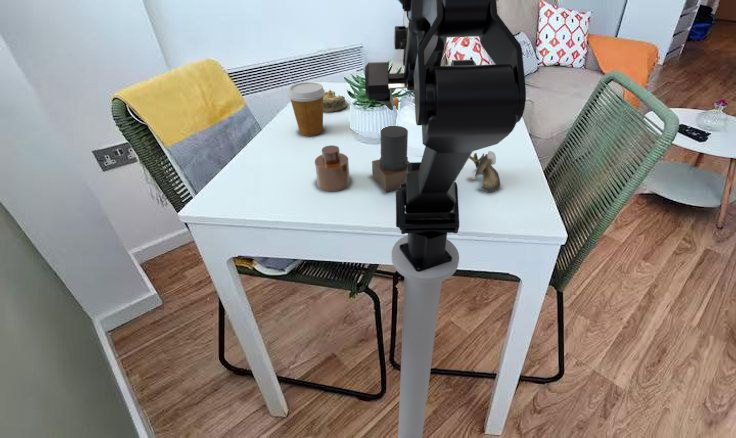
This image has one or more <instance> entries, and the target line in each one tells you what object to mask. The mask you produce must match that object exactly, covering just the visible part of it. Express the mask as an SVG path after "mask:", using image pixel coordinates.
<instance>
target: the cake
mask: <svg viewBox="0 0 736 438" xmlns="http://www.w3.org/2000/svg"><path fill="white" fill-rule="evenodd" d="M348 105H349V104H348V101H346V97H345V96H344V95H340V94H339V95H336V92H335V91H332V90H331V89H328V91H325V93H324V96H323V113H331V112H337V111H340V110H344V109H345V108H347V106H348Z"/></svg>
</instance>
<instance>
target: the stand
mask: <svg viewBox="0 0 736 438" xmlns="http://www.w3.org/2000/svg"><path fill="white" fill-rule="evenodd" d="M409 163H411V162H410V161H409V160H408V164H409ZM408 164H407V165H408ZM371 168H372V169H371V170H372V172H371V173H372V174H371V175H372V178H373V179H374V181H375V182H376V184H378V185H379V187H380V188H381V189H382V190H383V192H385V193H390V192H394V191H398V190H399V187H400V183H404V178H405V175H406V171H407V166H406V167H405V169H403V170H399V171H389V170H384V169H383V168H382V167H381V166H380V158H379V159H375V160H372V161H371Z"/></svg>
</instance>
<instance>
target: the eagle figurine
mask: <svg viewBox="0 0 736 438" xmlns="http://www.w3.org/2000/svg"><path fill="white" fill-rule="evenodd" d="M478 157H479V156H478V154H477V152H475V153H474V154H473V156H472V155H470V157H469V159H468V160H470V161H472V162H473V164H474V165H475V168H476V169H475V171H474V173H473V174H472V176H471V179H470V181H473V180H476V179H477V178H478V177H479V176H480V175H482V176H483V177H482V179H483V181H482V183H481V187H480V189H481V190H482V191H483V192H486V193H490V194H491V193H492V192H495V191H498V189H499V188H500V186H501V179H500V175H499V173H498V171H497V170H496V169H495V168H494V167H493V165H495V164H496V162H497V159H496V158H497V157H496V153H495V152H494V151H491V150H489V151H488V152H487V153H484V152H483V153H482V155H481V156H480V158H478Z"/></svg>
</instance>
